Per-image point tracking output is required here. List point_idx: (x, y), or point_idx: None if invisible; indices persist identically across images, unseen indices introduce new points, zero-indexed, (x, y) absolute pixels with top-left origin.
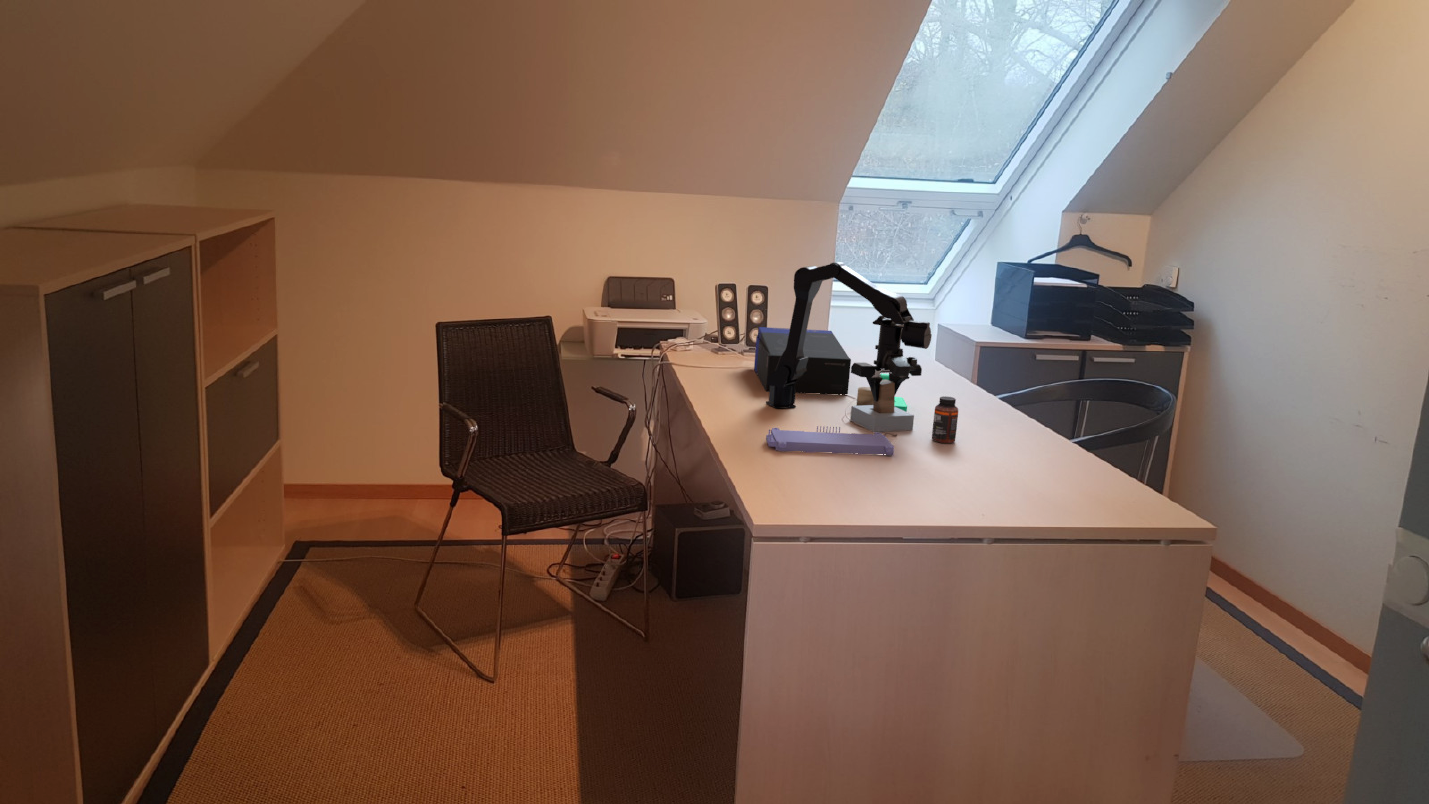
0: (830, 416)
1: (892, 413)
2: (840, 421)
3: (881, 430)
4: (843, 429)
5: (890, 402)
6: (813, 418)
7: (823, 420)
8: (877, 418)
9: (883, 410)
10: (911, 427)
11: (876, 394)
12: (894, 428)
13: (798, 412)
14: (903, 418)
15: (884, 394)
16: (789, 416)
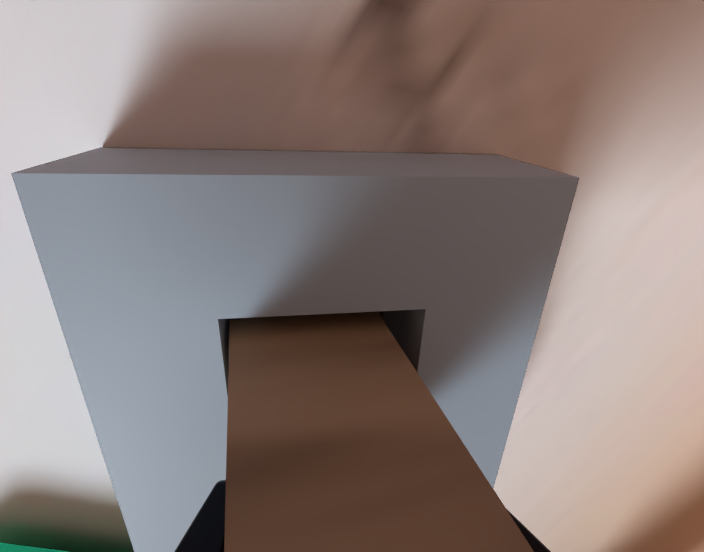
0: (494, 487)
1: (284, 290)
2: (515, 409)
3: (432, 153)
4: (635, 256)
5: (293, 414)
6: (601, 459)
7: (585, 428)
8: (541, 173)
9: (373, 341)
10: (106, 151)
11: (524, 530)
12: (305, 153)
13: (583, 535)
14: (197, 169)
15: (443, 512)
16: (671, 485)
